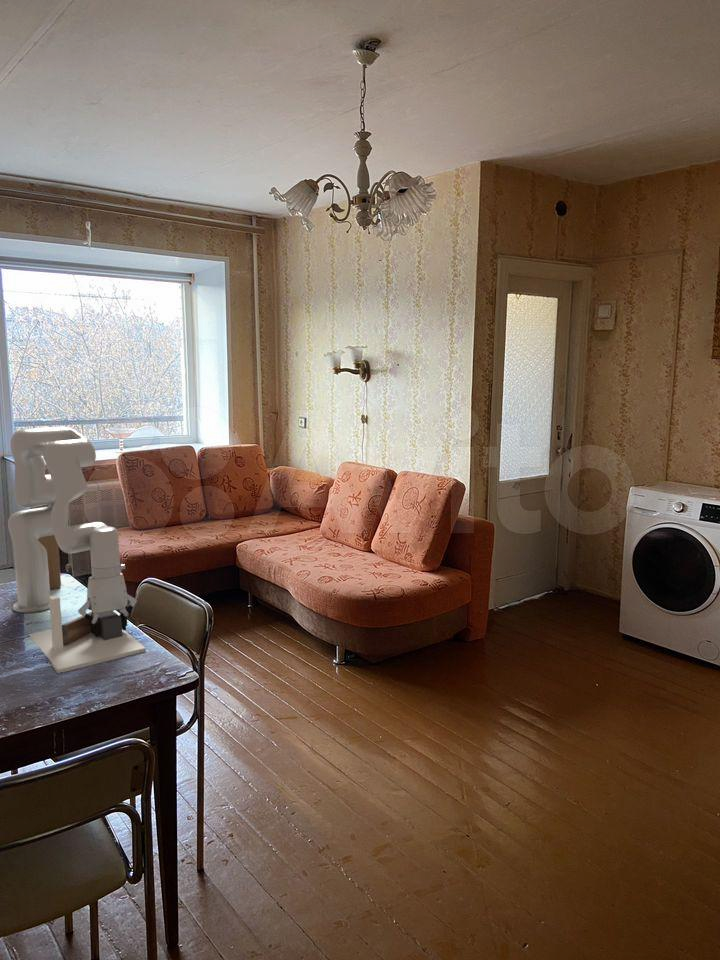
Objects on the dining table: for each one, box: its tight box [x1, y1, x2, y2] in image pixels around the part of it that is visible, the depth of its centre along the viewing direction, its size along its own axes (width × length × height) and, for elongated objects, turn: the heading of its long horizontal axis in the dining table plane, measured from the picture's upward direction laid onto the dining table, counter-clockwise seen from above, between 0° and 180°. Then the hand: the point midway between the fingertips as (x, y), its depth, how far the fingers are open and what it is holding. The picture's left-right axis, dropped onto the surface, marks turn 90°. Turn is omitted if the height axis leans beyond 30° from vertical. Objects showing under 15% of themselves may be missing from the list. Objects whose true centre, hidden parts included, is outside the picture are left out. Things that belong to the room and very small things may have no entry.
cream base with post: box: [28, 595, 146, 674], centre depth 193 cm, size 30×22×15 cm
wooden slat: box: [62, 611, 92, 645], centre depth 196 cm, size 1×15×6 cm, turn 159°
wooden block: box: [38, 535, 62, 590], centre depth 243 cm, size 10×10×20 cm
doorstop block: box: [97, 610, 122, 640], centre depth 198 cm, size 8×5×6 cm, turn 38°
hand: (109, 631), depth 198 cm, fingers open, 7 cm apart
